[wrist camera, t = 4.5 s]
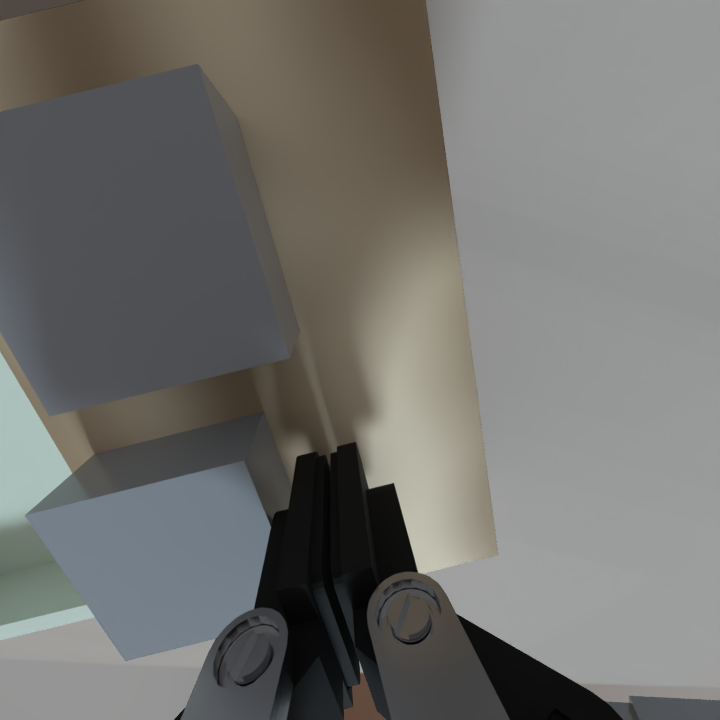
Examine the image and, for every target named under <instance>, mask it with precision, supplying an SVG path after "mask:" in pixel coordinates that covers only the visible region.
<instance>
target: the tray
mask: <svg viewBox="0 0 720 720" xmlns="http://www.w3.org/2000/svg"><path fill="white" fill-rule="evenodd" d="M71 474H72V472H71V470H70V468H69V467H68V465H67V463H66V462H65V460H64V458H63V456H62V455H61V453H60V451H59V450H58V448H57V446H56V445H55V443H54V441H53V440H52V438H51V436H50V435H49V433H48V431H47V430H46V428H45V426H44V425H43V423H42V421H41V419H40V418H39V416H38V414H37V413H36V411H35V409H34V408H33V406H32V404H31V403H30V401H29V399H28V398H27V396H26V394H25V393H24V391H23V389H22V388H21V386H20V384H19V382H18V381H17V379H16V377H15V376H14V374H13V372H12V371H11V369H10V367H9V366H8V364H7V362H6V361H5V359H4V357H3V356H2V354H1V352H0V640H3V639H7V638H12V637H16V636H20V635H24V634H28V633H32V632H36V631H40V630H44V629H49V628H53V627H57V626H61V625H65V624H69V623H73V622H77V621H81V620H86V619H90V618H94V617H95V616H94V615H93V614H92V612H91V611H90V609H89V608H88V606H87V605H86V603H85V602H84V601H83V599H82V598H81V596H80V595H79V593H78V592H77V590H76V589H75V588H74V586H73V585H72V583H71V582H70V580H69V579H68V577H67V576H66V575H65V573H64V572H63V570H62V569H61V567H60V566H59V564H58V563H57V561H56V560H55V559H54V557H53V556H52V554H51V553H50V551H49V550H48V548H47V547H46V546H45V544H44V543H43V541H42V540H41V538H40V537H39V535H38V534H37V533H36V531H35V530H34V528H33V527H32V525H31V524H30V522H29V521H28V519H27V518H26V517H25V515H26V514H27V513H28V512H29V511H30V510H31V509H32V508H34V507H35V506H36V505H37V504H38V503H39V502H40V501H42V500H43V499H44V498H45V497H46V496H47V495H48V494H50V493H51V492H52V491H53V490H54V489H55V488H56V487H58V486H59V485H60V484H61V483H62V482H63V481H64V480H66V479H67V478H68V477H69V476H70V475H71Z"/></svg>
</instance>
